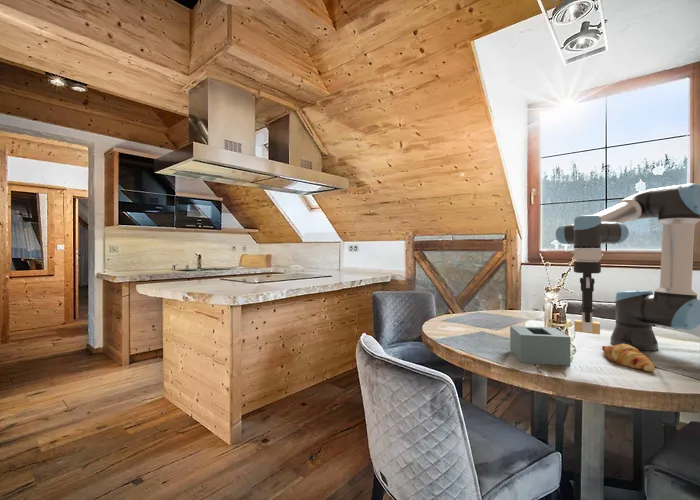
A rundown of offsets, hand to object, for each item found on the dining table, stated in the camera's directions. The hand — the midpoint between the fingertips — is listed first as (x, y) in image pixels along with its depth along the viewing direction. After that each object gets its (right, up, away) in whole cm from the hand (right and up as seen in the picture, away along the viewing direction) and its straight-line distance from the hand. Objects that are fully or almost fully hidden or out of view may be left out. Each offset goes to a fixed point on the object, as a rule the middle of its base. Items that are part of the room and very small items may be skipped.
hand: (587, 330), depth 113 cm
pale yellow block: (0, -1, 0) cm, 1 cm away
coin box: (-10, -13, +12) cm, 20 cm away
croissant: (+18, -13, +6) cm, 23 cm away
